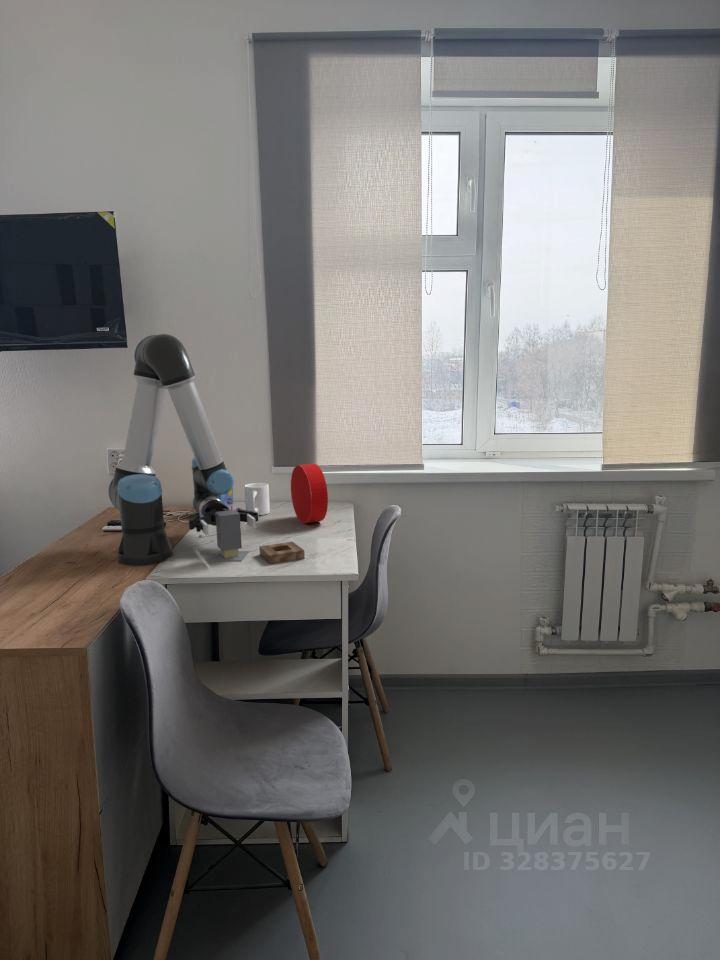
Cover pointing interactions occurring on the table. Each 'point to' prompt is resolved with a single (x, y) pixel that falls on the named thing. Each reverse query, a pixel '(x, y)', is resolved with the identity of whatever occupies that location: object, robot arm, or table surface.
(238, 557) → the mat
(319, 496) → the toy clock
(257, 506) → the mug
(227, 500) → the ink cartridge box
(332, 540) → the table surface
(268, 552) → the socket block
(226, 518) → the plug
